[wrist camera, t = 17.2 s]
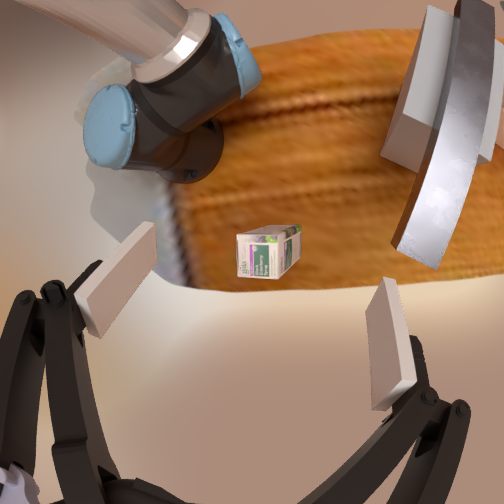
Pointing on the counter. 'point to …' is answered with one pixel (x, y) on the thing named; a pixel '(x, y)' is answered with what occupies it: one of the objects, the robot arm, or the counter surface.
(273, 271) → the syrup box
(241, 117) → the counter surface
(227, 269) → the counter surface
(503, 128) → the cabinet block
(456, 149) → the handle rail
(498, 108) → the tall grey pillar block
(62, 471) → the robot arm
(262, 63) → the counter surface
